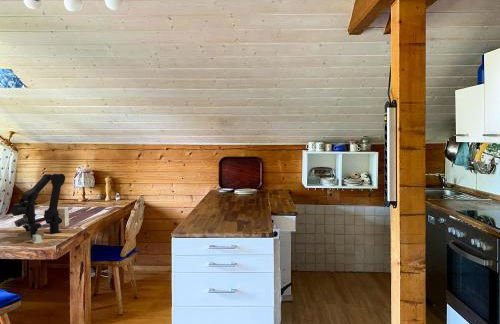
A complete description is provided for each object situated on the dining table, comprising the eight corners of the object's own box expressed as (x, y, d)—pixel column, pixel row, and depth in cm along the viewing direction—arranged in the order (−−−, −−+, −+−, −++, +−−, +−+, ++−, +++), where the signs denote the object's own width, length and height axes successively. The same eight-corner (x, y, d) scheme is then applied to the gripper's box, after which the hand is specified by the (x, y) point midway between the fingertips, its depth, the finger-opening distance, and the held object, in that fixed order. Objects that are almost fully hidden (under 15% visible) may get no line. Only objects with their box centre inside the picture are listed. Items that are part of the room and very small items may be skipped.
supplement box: (54, 226, 286) (53, 208, 285) (58, 225, 291) (58, 207, 290) (65, 227, 285) (64, 208, 284) (69, 225, 290) (68, 207, 289)
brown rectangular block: (17, 241, 248) (17, 233, 248) (42, 237, 257) (42, 229, 257) (18, 242, 246) (18, 234, 245) (44, 238, 255) (43, 230, 254)
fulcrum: (31, 242, 245) (30, 235, 245) (39, 240, 249) (39, 234, 249) (34, 243, 242) (34, 236, 241) (43, 241, 245) (42, 235, 245)
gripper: (9, 213, 251) (11, 237, 252) (21, 216, 238) (22, 243, 239) (29, 210, 259) (30, 234, 260) (41, 214, 247) (42, 239, 248)
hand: (30, 237), depth 251 cm, fingers open, 5 cm apart
